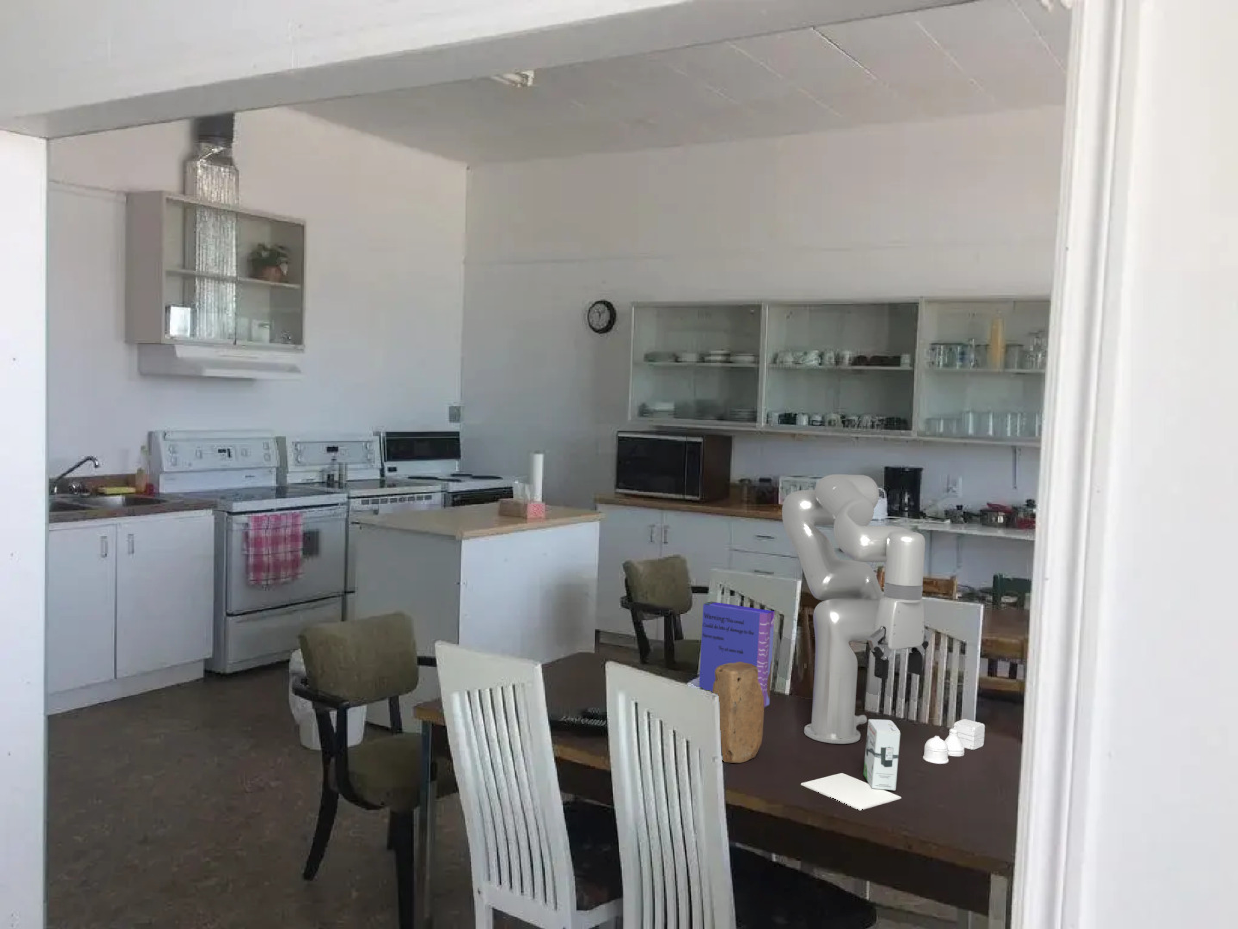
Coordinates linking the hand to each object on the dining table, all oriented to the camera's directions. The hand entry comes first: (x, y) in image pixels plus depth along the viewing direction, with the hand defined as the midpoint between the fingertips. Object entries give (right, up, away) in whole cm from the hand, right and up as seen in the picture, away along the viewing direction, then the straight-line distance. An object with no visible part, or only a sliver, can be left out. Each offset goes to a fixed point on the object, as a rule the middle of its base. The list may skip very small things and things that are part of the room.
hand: (898, 675), depth 214 cm
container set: (+17, -21, +19) cm, 33 cm away
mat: (-12, -21, -8) cm, 25 cm away
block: (-32, -19, +9) cm, 38 cm away
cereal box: (-28, -17, +52) cm, 61 cm away
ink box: (-5, -21, -3) cm, 22 cm away
